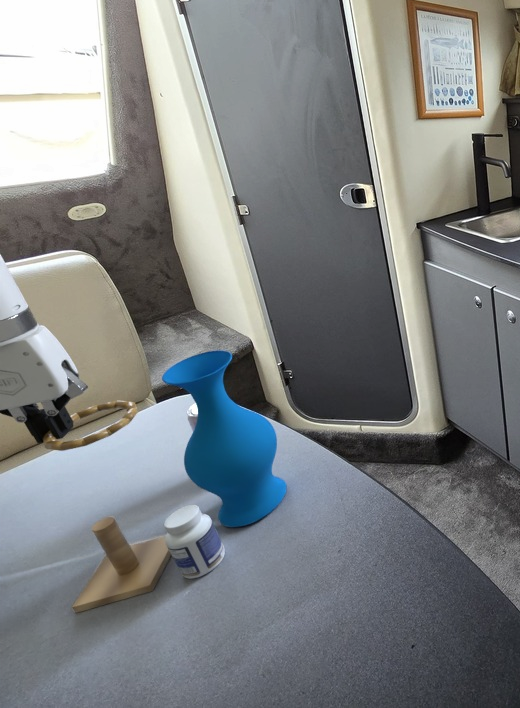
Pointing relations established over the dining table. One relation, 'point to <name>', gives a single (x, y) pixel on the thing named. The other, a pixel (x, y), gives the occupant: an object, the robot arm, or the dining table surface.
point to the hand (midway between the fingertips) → (56, 434)
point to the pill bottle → (193, 541)
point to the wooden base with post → (122, 567)
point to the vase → (227, 443)
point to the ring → (62, 446)
